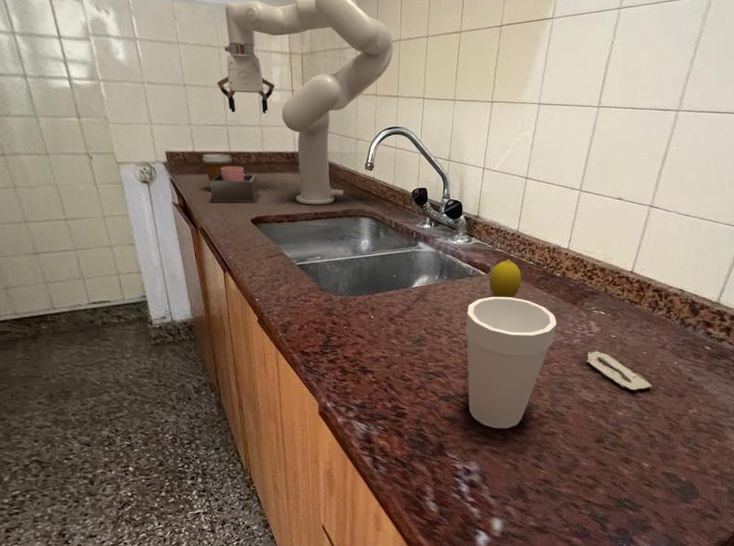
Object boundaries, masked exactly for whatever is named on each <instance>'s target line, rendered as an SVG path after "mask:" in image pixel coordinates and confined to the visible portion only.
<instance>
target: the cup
mask: <svg viewBox="0 0 734 546" xmlns="http://www.w3.org/2000/svg"><path fill="white" fill-rule="evenodd" d="M221 172H222V180H223V181H245V177H244V175H245V171H244V167H243V166H231V167H223V168H221Z"/></svg>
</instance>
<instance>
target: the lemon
mask: <svg viewBox="0 0 734 546" xmlns="http://www.w3.org/2000/svg"><path fill="white" fill-rule="evenodd" d="M521 273H522V272H521V270H520V268H519V266H518V265H517V264H516V263H514V262H512V261H511V260H510V259H506V260H505V261H500V262H499V263H497V264H496V265H495V266H494V267H493V269H492V271H491V274H490V278H489V288H490V291H491V293H492V294H493V296H494V297H512V298H514V297H515V295H517V293H518V292H519V290H520V286H521V283H522V275H521Z"/></svg>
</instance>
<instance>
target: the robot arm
mask: <svg viewBox="0 0 734 546" xmlns="http://www.w3.org/2000/svg"><path fill="white" fill-rule="evenodd" d="M224 10H225V18H226V27H227V37H228V45H226V46H224V51H225V52H227V53H229V54H230V55H227V76H226V77H225V78H223V79H221V80H219V81H217V86H218V88H219V89H220V91H221V93H222V94H223V95H224V96H226V98H227V99H228V107H229V110H231V113H236V104H235V98H234V95H235V94H236V93H253V94H255V93H258V94H259V95H260V97H261V107H262V113H263V114H266V113H267V111H268V99H269V98H270V97H271V96H272V94H273V92H274V89H275V86H276V85H275V84H274V83H272V82H270V81H269V80H267V79H265V78H263V73H262V68H261V63H260V59H259V57H257V52H256V51H257V50H256V42H255V40H256V39H255V32H257V33H262V34H266V35H270V36H286V35H293V34H299V33H302V32H307V31H310V30H318V29H328V28H331V29H332V30H333V31H334V32H335V33H336V34H337V35H339V36H340V37H341V39H343V40H344V41H345V42H346V43H347V44H348V45H349V46H350V47H351V48H352V49H354V50H355V51H358V52H360V53H359V54H358V55H357V56H355V57H354V58H352V59H351V60H349V61H348V62H347V63H346V64H345V65H344V66H343V67H341V68H340V69H339V70H337V71H336V72H335V73H321V74H317V75H315V76H313V77H311V79H309V80H308V81H307V82H306V83H305V84H303V85H302V86H301V87H300V88H299V89H297V90H296V92H294V93H293V94H292V95H291V96H290V97H289V98H288V99H287V100H286V101H285V103H284V104H283V107H282V111H281V117H282V121H283V124H284V125H285V126H286V127H287V128H288V129H290V130H291V131H293V132H296V133H298V139H297V150H298V151H297V152H298V153H297V154H298V169H299V171H298V172H299V185H300V186H299V188H300V194H298V195H297V196H296V199H295V200H296V202H298V203H301V204H305V205H325V204H330V203H333V202H335V196H336V197H337V196H338V197H343V196H344V189H338V188H337V189H334V188H331V185H330V169H329V168H330V167H329V165H330V164H329V130H330V121H331V120H330V119H331V118H330V117H331V115H330V112H331V111H339V110H343V109H345V108H346V107H347V106H348V105H349V104H350V103H352V102H353V101H354V100H356V98H358V97H359V96H360V95H361V94H363V93H364V92H365V91H366V90H367V89H368V88H369V87H370V86H372V85H373V84H374V83H375V82H377V81H378V80H379V79H380V78H381V77H382V76H383V75H384V73H385V72H386V71H387V69H388V67H389V66H390V64H391V61H392V57H393V50H394V44H393V42H394V41H393V37H392V34H391V33H390V30H389V28H388V27H387V26H386V25H385V24H384V23H383V22H381V21H379V20H377V19H375V18H373V17H371V16H369V15H368V14H367V13H365V11H363V10H362V9H361V8H360V7H359V6H358V3H357V0H296V2H295V3H293V4H288V5H282V6H281V5H280V6H273V5H270V4H267V3H264V2H261V1H257V0H250V1H246V2H228V3H227V4H225V9H224ZM225 84H228V88H229V90H227V89H226V88H225ZM264 85H266V86H267V87H268V90H267V91H266V93H265V92H264Z"/></svg>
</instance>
